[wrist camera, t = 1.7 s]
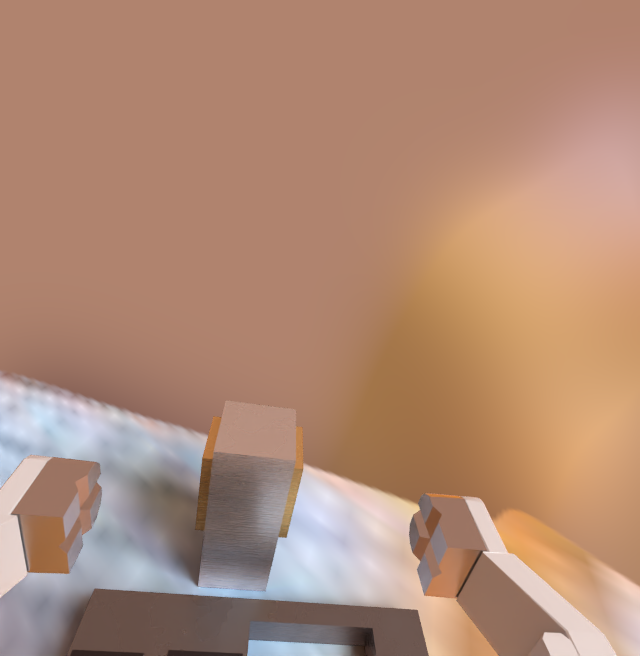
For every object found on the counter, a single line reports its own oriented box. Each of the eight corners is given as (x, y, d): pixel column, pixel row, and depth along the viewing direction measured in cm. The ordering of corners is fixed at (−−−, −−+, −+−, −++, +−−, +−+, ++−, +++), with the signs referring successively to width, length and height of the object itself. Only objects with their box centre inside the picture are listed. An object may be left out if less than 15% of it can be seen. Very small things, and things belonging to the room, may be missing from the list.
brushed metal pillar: (188, 586, 28) (202, 450, 23) (202, 526, 32) (216, 399, 27) (274, 591, 29) (306, 461, 23) (276, 533, 33) (305, 410, 27)
